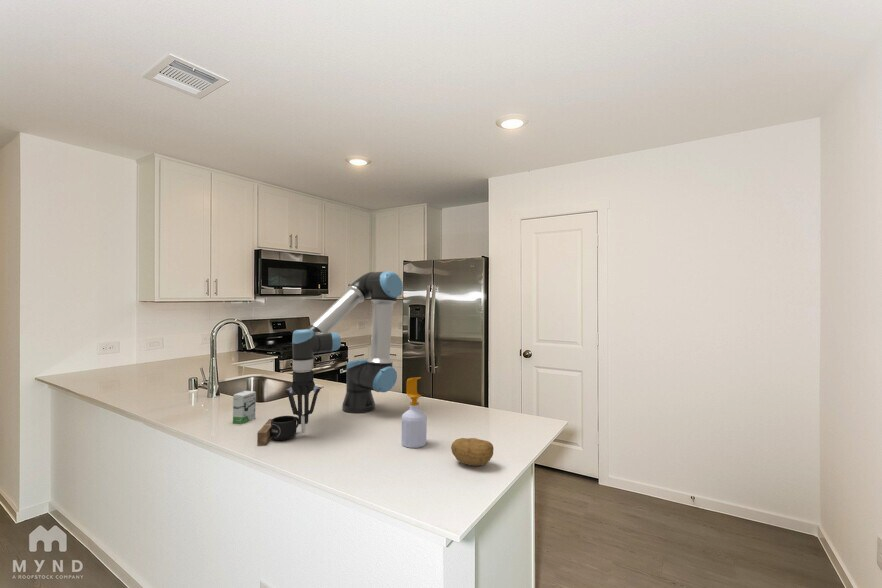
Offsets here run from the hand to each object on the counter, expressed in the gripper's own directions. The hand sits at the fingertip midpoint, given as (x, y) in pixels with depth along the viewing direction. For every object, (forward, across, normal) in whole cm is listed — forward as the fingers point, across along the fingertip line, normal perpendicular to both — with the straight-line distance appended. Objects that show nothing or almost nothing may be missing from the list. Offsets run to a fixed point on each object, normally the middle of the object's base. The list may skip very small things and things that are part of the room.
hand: (303, 432), depth 155 cm
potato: (+3, -58, +33) cm, 67 cm away
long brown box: (+1, +13, 0) cm, 13 cm away
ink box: (+1, +28, -22) cm, 36 cm away
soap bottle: (+3, -41, +13) cm, 43 cm away
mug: (+2, +6, 0) cm, 6 cm away
